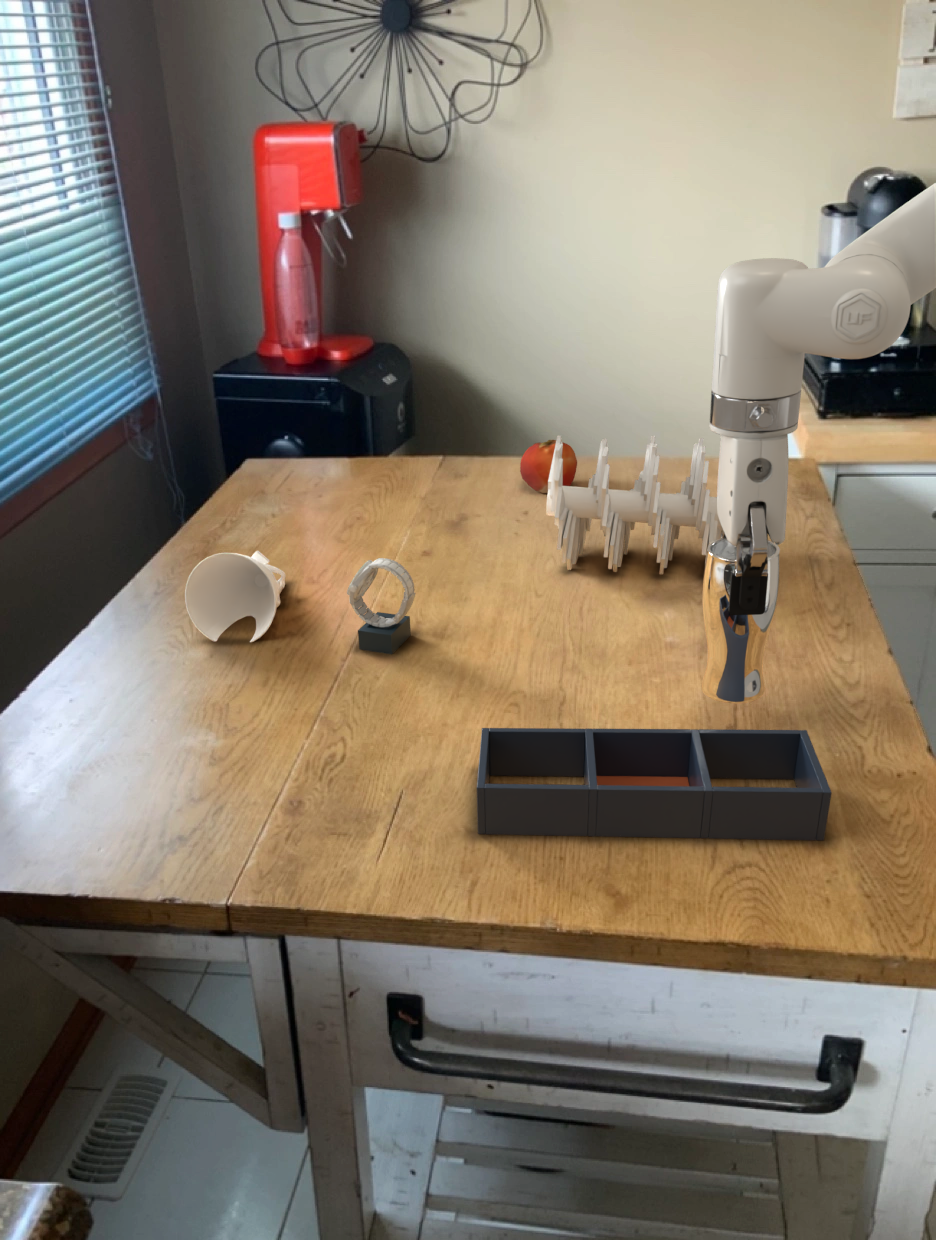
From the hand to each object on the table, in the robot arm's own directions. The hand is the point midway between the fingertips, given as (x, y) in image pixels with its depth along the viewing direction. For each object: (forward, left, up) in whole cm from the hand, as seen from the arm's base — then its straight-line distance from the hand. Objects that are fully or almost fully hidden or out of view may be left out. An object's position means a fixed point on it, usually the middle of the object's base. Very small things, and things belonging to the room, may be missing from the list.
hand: (739, 595), depth 108 cm
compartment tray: (+10, +15, -15) cm, 23 cm away
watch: (+38, -19, -15) cm, 45 cm away
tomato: (+18, -77, -15) cm, 81 cm away
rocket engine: (+54, -28, -15) cm, 63 cm away
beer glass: (0, 0, -10) cm, 10 cm away
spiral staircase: (+6, -43, -15) cm, 46 cm away
